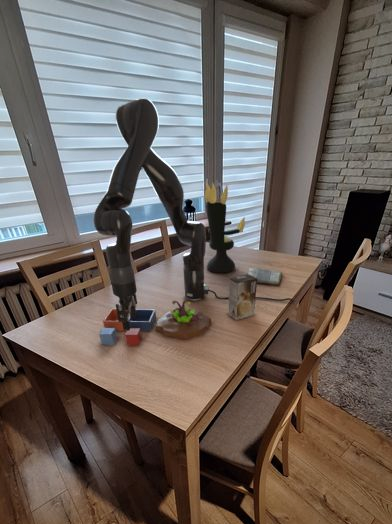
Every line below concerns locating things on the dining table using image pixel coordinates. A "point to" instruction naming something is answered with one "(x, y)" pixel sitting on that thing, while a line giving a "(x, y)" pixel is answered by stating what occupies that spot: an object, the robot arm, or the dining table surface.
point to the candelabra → (219, 231)
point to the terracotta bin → (113, 320)
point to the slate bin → (143, 319)
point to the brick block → (133, 336)
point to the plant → (183, 322)
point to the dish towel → (266, 276)
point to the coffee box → (242, 296)
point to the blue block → (108, 336)
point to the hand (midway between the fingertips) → (130, 323)
